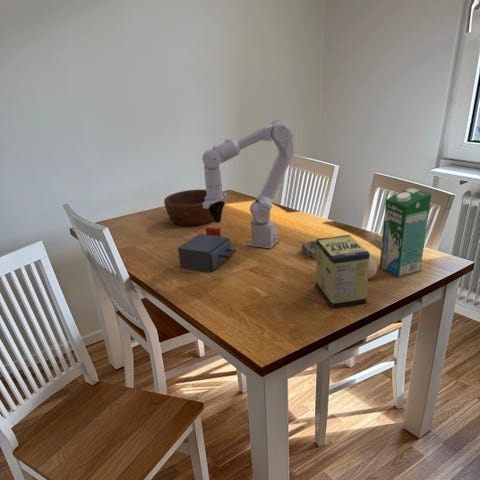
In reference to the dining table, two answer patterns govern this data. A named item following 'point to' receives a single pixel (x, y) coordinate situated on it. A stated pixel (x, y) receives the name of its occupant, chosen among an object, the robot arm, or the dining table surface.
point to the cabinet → (199, 251)
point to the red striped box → (213, 231)
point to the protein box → (342, 270)
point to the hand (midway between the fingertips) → (217, 221)
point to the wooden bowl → (188, 208)
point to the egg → (372, 267)
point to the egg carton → (310, 248)
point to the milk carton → (404, 231)
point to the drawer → (221, 254)
